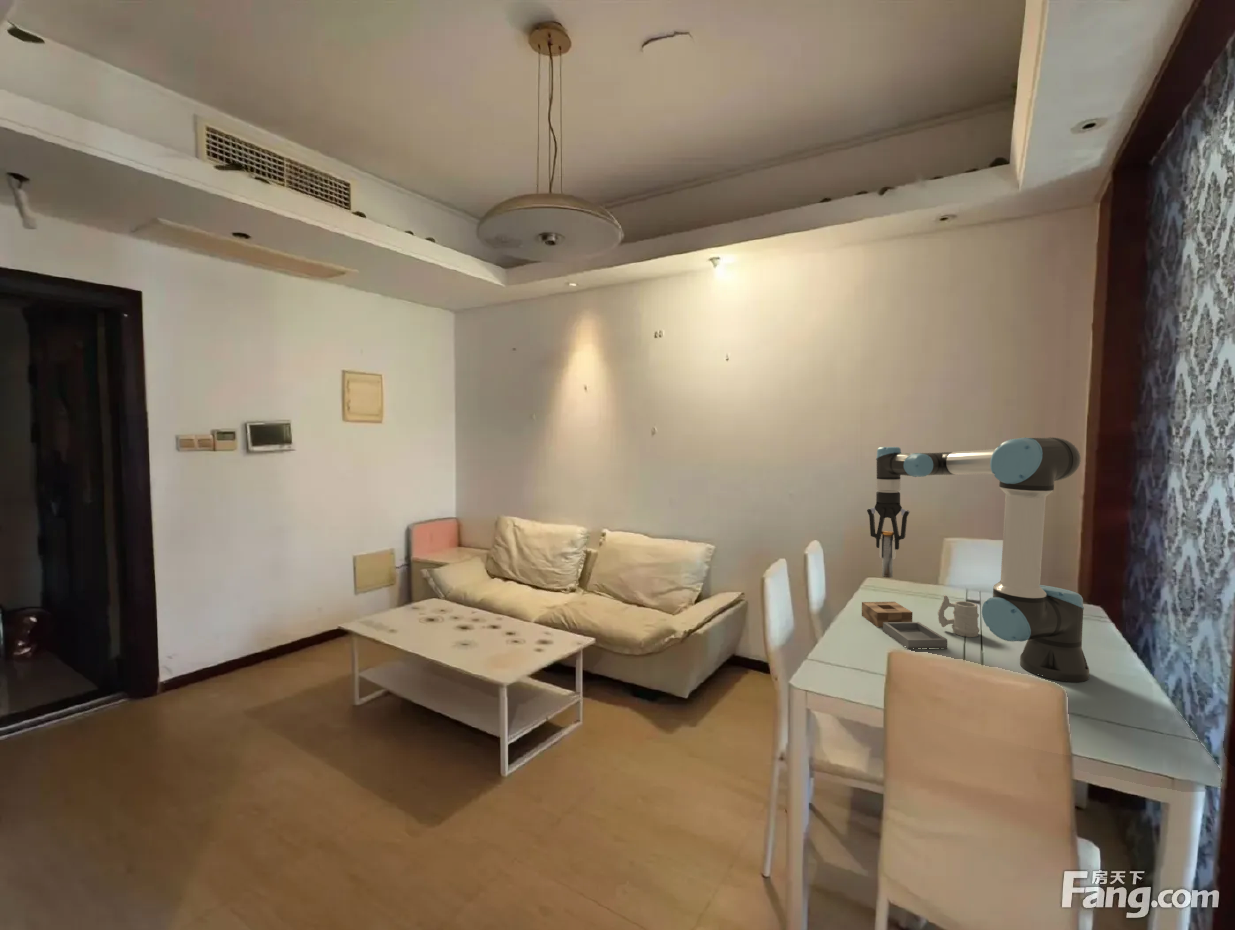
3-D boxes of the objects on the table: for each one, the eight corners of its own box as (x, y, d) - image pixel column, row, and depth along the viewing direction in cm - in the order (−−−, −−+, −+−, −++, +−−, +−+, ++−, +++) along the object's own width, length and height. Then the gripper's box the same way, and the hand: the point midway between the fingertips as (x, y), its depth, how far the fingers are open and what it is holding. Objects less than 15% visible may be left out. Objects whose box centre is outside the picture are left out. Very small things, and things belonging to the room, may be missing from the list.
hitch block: (912, 626, 190) (912, 612, 190) (877, 627, 190) (877, 612, 190) (894, 615, 202) (894, 601, 202) (861, 615, 202) (861, 602, 202)
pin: (894, 575, 195) (895, 531, 195) (892, 578, 192) (893, 533, 191) (882, 574, 198) (882, 530, 197) (880, 576, 194) (880, 532, 194)
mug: (980, 639, 178) (981, 602, 177) (937, 633, 184) (938, 597, 183) (977, 631, 185) (978, 596, 184) (936, 626, 190) (937, 591, 190)
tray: (947, 649, 170) (947, 639, 170) (908, 649, 170) (908, 640, 170) (918, 630, 186) (918, 621, 186) (882, 631, 186) (883, 622, 186)
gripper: (916, 491, 192) (915, 558, 193) (864, 489, 201) (864, 553, 202) (913, 493, 186) (912, 562, 187) (860, 491, 195) (860, 557, 196)
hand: (887, 557), depth 195 cm, fingers closed on pin, 3 cm apart
